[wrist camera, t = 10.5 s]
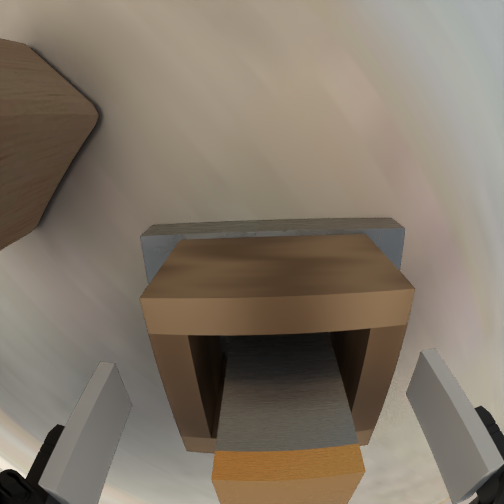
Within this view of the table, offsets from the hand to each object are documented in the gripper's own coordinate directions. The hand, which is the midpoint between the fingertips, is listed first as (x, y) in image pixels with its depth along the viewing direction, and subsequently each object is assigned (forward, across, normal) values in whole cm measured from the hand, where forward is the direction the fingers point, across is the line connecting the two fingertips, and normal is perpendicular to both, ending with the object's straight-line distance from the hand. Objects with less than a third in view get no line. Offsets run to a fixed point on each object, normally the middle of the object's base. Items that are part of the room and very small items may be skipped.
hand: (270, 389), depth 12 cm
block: (+8, -15, +12) cm, 21 cm away
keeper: (+8, +1, 0) cm, 8 cm away
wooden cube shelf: (+6, 0, 0) cm, 6 cm away
